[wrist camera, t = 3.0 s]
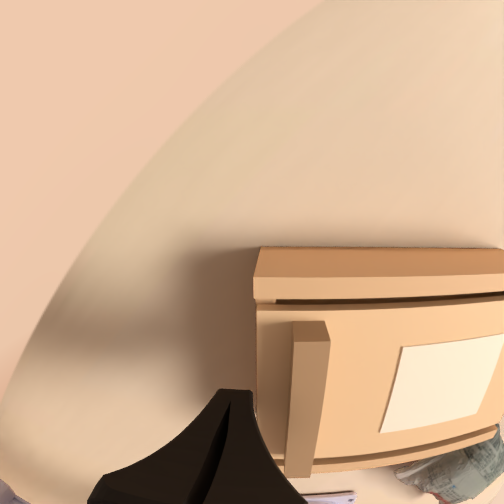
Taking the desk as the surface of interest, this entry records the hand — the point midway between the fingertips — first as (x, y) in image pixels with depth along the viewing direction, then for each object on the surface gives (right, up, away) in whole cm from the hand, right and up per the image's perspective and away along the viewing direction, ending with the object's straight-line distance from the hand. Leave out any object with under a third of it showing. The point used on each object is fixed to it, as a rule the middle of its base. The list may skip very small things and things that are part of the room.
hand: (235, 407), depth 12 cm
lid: (+8, 0, 0) cm, 8 cm away
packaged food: (+19, -12, +7) cm, 23 cm away
